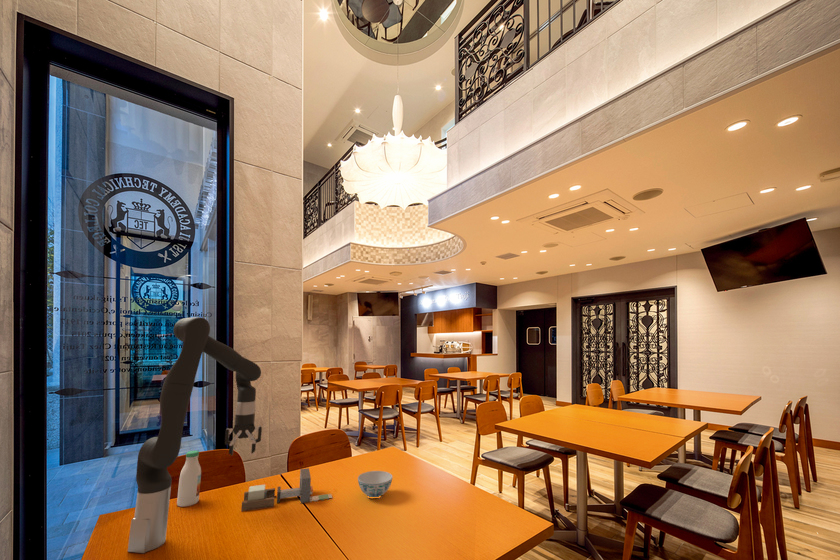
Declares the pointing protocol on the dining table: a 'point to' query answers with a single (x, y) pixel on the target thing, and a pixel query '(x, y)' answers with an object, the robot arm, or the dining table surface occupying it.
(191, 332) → the robot arm
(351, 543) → the dining table surface
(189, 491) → the milk bottle
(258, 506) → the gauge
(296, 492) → the plunger
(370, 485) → the chinaware
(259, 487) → the block
